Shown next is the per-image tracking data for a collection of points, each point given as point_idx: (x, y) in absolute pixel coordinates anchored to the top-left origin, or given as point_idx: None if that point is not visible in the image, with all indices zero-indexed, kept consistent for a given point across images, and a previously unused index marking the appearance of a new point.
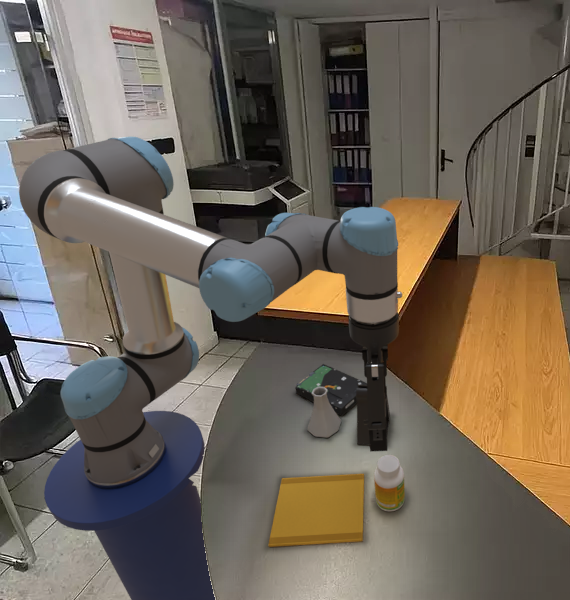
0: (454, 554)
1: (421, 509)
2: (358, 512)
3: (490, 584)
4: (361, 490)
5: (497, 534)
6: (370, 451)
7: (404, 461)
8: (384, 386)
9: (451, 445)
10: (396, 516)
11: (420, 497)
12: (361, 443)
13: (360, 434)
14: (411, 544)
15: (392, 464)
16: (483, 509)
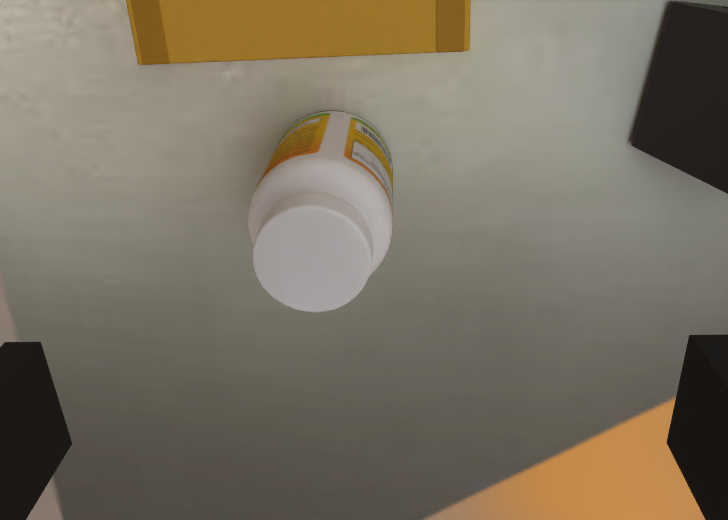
0: (136, 357)
1: None
2: (260, 39)
3: None
4: (373, 45)
5: (215, 468)
6: (5, 344)
7: (526, 223)
8: (697, 494)
9: (583, 393)
10: None
11: None
12: (665, 25)
13: (703, 29)
14: (153, 237)
15: (302, 281)
16: (299, 449)
